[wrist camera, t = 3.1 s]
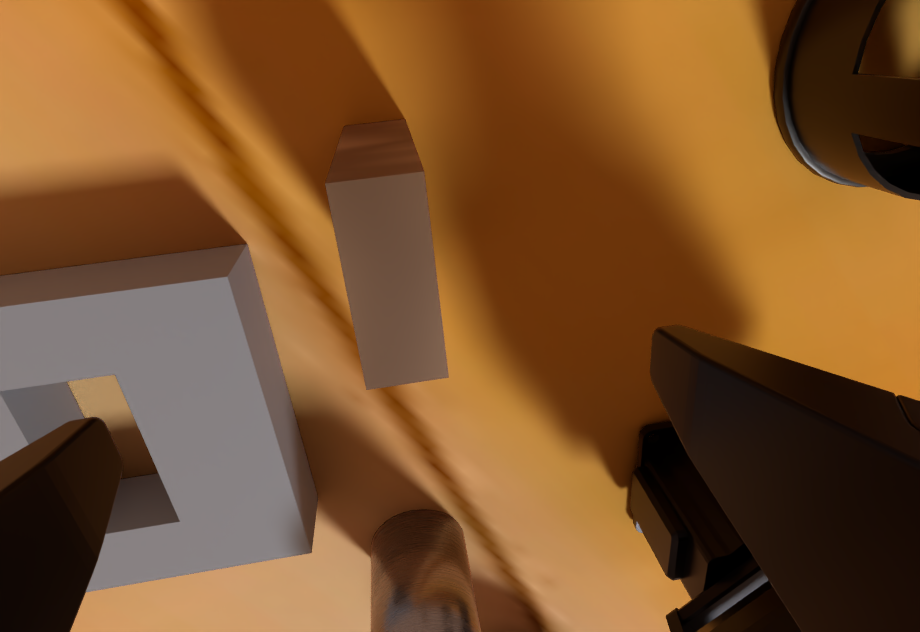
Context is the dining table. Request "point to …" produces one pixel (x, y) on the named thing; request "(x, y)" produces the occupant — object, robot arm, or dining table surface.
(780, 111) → the french press
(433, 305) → the walnut bar
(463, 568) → the round metal peg
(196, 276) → the slotted block
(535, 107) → the dining table surface
